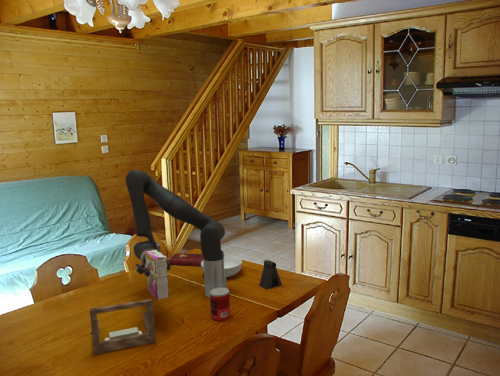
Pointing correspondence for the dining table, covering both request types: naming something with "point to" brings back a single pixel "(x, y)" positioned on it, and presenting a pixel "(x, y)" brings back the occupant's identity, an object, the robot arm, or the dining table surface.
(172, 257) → the hardcover book
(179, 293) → the dining table surface
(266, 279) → the phone stand
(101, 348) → the frame
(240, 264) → the serving bowl
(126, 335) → the upper offcut
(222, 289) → the canned food
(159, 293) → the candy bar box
